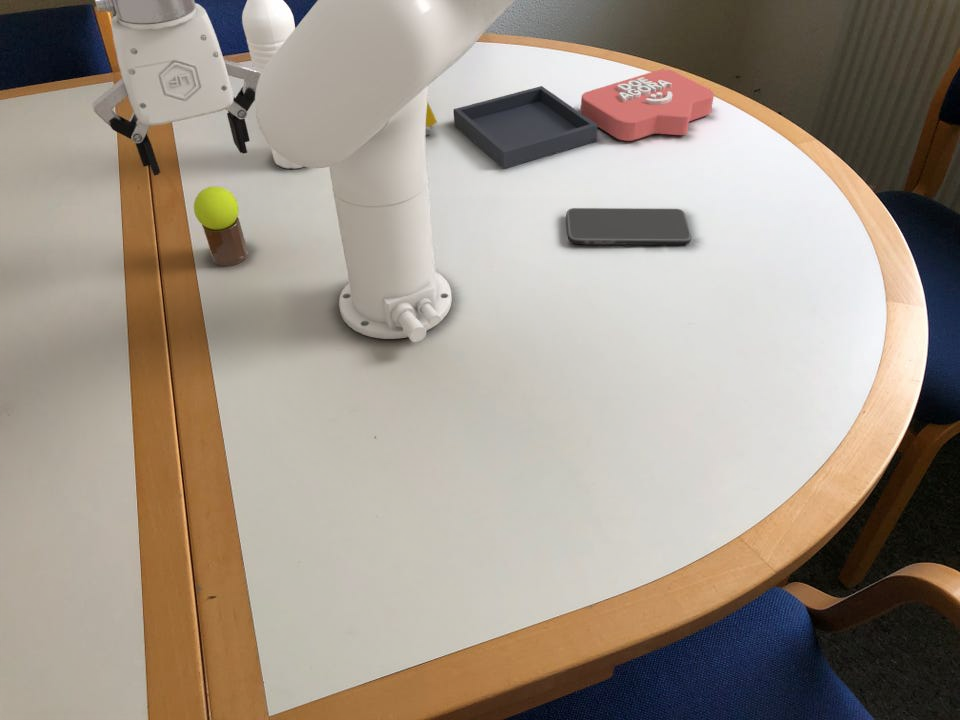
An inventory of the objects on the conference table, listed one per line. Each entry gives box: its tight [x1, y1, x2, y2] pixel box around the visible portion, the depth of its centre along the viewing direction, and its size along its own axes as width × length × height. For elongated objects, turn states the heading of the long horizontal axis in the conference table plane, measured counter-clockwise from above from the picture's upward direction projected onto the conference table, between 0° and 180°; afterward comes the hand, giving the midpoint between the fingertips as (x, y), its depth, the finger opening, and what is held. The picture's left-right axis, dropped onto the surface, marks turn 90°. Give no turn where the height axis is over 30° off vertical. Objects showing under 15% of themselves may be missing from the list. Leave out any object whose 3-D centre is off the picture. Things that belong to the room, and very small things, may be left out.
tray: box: [453, 85, 599, 170], centre depth 118 cm, size 16×16×3 cm
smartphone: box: [565, 207, 692, 246], centre depth 99 cm, size 7×1×15 cm
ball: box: [193, 186, 240, 230], centre depth 93 cm, size 5×5×5 cm
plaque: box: [580, 69, 715, 142], centre depth 120 cm, size 18×4×15 cm
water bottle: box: [241, 0, 304, 170], centre depth 107 cm, size 9×6×25 cm
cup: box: [201, 216, 249, 267], centre depth 96 cm, size 4×4×5 cm
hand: (198, 158), depth 89 cm, fingers open, 9 cm apart
